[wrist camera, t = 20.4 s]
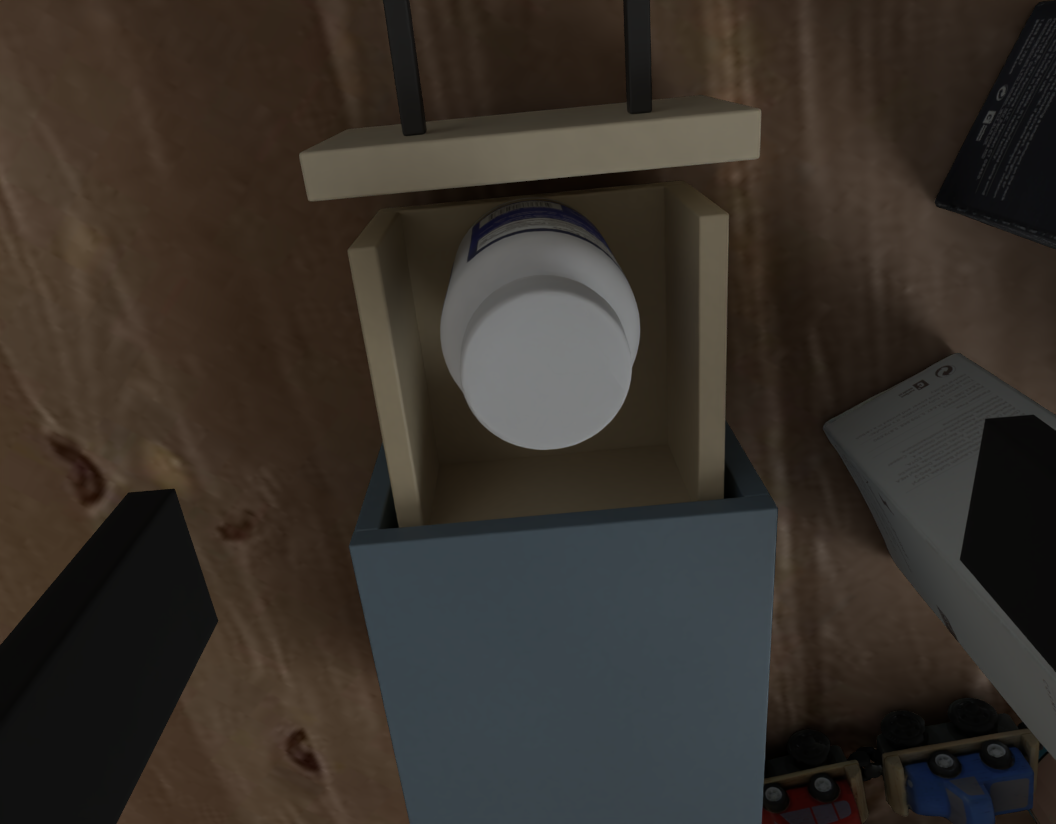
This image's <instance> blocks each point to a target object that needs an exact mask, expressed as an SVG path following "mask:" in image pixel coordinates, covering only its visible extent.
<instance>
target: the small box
mask: <svg viewBox="0 0 1056 824" xmlns="http://www.w3.org/2000/svg"><path fill="white" fill-rule="evenodd" d="M935 204H936V206H937V207H939V208H943V209H946V210H949V211H952V212H956V213H959V214H961V215H964V216H967V217H969V218H972V219H975V220H977V221H980V222H983V223H985V224H988V225H990V226H993V227H996V228H999V229H1002V230H1004V231H1007V232H1010V233H1012V234H1015V235H1018V236H1020V237H1023V238H1026V239H1029V240H1032V241H1034V242H1037V243H1040V244H1042V245H1045V246H1048V247H1051V248H1053V249H1056V0H1054V1H1043V2H1039V3H1038V4H1037V5H1036V6H1035V8H1034V10H1033V12H1032V14H1031V15H1030V17H1029V19H1028V20H1027V22H1026V24H1025V27H1024V28H1023V30H1022V32H1021V33H1020V36H1019V38H1018V40H1017V42H1016V43H1015V45H1014V47H1013V49H1012V51H1011V53H1010V55H1009V57H1008V58H1007V60H1006V63H1005V65H1004V66H1003V68H1002V70H1001V72H1000V74H999V76H998V78H997V80H996V82H995V84H994V86H993V88H992V89H991V91H990V93H989V95H988V97H987V99H986V101H985V103H984V105H983V107H982V109H981V111H980V112H979V114H978V116H977V118H976V120H975V122H974V124H973V126H972V128H971V130H970V132H969V134H968V136H967V138H966V140H965V142H964V144H963V146H962V147H961V149H960V151H959V153H958V155H957V157H956V159H955V161H954V163H953V165H952V167H951V169H950V171H949V173H948V175H947V177H946V179H945V181H944V183H943V185H942V187H941V189H940V191H939V193H938V195H937V197H936V199H935Z"/></svg>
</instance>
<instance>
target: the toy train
mask: <svg viewBox="0 0 1056 824" xmlns="http://www.w3.org/2000/svg"><path fill="white" fill-rule="evenodd" d="M947 714H948V718H949V719H950V721H951V722H947V723H942V724H936V725H930V726H925V721H924V720H923V718H922V717H920V716H919V715H917V714H915V713H913V712H911V711H894V712H891V713H889V714H887V715H886V716H885V717H884V718H883V720H882V722H881V731H882V734H880V735H878V736H877V749H874V748H873V747H860V748H858V749H857V750H856V752H853V753H852V754H850V756H849V757H848V759H846V757H845V755H844V753H843V751H842V749H841V748H840V746H838V745H832V746H830V741H829V739H828V738H827V736H825V735H824V734H823V733H821V732H819V731H816V730H810V729H809V730H801V731H798V732H796V733H795V734H793V735H792V736H791V737H790V739H789V741H788V744H787V749H788V753H789V754H790V755H788V756H784V757H779V758H774V759H771V760H766V758H765V760H766V761H765V767H764V787H763V806H762V824H862V823H863V822H864V821H865V820H866V819H867V817H868V814H869V813H868V809H867V804H866V798H865V792H864V786H863V781H867V780H870V779H871V778H877V777H879V776H881V775H882V776H883V780H884V786H885V796H886V801H887V802H888V804H889V805H890V806H891V808H892V809H893V811H894V812H896V813H898V814H900V815H902V816H905V817H906V816H908V809H911V810H912V811H913V812H915V813H916V814H920V815H925V816H940V817H944V818H947V819H948V820H949V821H951V822H952V823H953V824H995V815H1001V814H1007V813H1012V812H1018V811H1023V810H1029V809H1032V808H1033V795H1034V793H1035V791H1036V788H1037V776H1038V758H1039V751H1040V750H1042V749H1043V745H1042V744H1041V743H1040V742H1039V741H1038V739H1037V738H1036V737H1035V736H1034V735H1033V733H1032V732H1031V731H1030V730H1029V729H1028V727H1027V726H1026V725H1025V724H1024V722H1021V723H1020V724H1019V725H1018V726H1016V725H1015V723H1014V722H1013V720H1012V719H1011V717H1010V716H1009V715H1008V714H1005V713H1003V714H997V712H996V710H995V709H994V708H993V707H992V706H991V705H990V704H988V703H986V702H985V701H983V700H980V699H976V698H962V699H959V700H955V701H954V702H952V703H951V704H950V706H949V708H948V712H947ZM870 760H872V761H873V762H875V763H871V762H870ZM863 767H865V769H864V768H863Z"/></svg>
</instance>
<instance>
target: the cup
mask: <svg viewBox="0 0 1056 824" xmlns="http://www.w3.org/2000/svg"><path fill="white" fill-rule="evenodd" d="M1028 811H1029V813H1030V814H1031V816H1032V817H1033V819H1034V820H1035V821H1036V823H1037V824H1056V760H1055V759H1054V758H1053V756H1052V755H1051V754H1050V753H1049V752H1048V751H1047V750H1046V749H1045V747H1044V746H1043V749H1042V750H1040V751H1039V758H1038V776H1037V788H1036V791H1035V793H1034V795H1033V808H1032V809H1029V810H1028Z"/></svg>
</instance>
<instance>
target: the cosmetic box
mask: <svg viewBox="0 0 1056 824" xmlns="http://www.w3.org/2000/svg"><path fill="white" fill-rule="evenodd" d="M1022 415H1035V416H1036V417H1038V418H1039V419H1041V420H1042V421H1043V422H1045V423H1046V424H1047V425H1049V426H1050V427H1052V428H1053V429H1054V430H1056V415H1055V414H1053V413H1052V412H1050V411H1049V410H1047V409H1045V408H1044V407H1042V406H1041V405H1039V404H1038V403H1036V402H1035V401H1033V400H1032V399H1030V398H1028V397H1027V396H1025V395H1024V394H1022V393H1021V392H1019V391H1018V390H1016V389H1015V388H1013V387H1011V386H1010V385H1008V384H1007V383H1005V382H1004V381H1002V380H1001V379H999V378H998V377H996V376H994V375H993V374H991V373H990V372H988V371H987V370H985V369H984V368H982V367H980V366H979V365H977V364H976V363H974V362H973V361H971V360H969V359H968V358H966V357H965V356H963V355H962V354H961V353H955V354H952V355H950V356H948V357H946V358H944V359H942V360H940V361H939V362H937V363H935V364H933V365H931V366H929V367H928V368H926V369H925V370H923V371H922V372H920V373H918V374H916V375H914V376H912V377H910V378H909V379H907V380H905V381H903V382H901V383H899V384H897V385H895V386H893V387H891V388H890V389H888V390H886V391H884V392H881V393H879V394H877V395H875V396H873V397H871V398H869V399H868V400H866V401H864V402H862V403H860V404H859V405H857V406H855V407H853V408H851V409H849V410H847V411H845V412H844V413H842V414H840V415H838V416H836V417H834V418H832V419H830V420H829V421H827V422H826V423H825V424H824V427H823V430H824V432H825V434H826V436H827V438H828V439H829V441H830V443H831V444H832V445H833V446H834V448H835V449H836V450H837V452H838V453H839V455H840V457H841V459H842V460H843V462H844V464H845V465H846V467H847V469H848V471H849V472H850V474H851V476H852V477H853V479H854V481H855V483H856V484H857V486H858V488H859V490H860V492H861V494H862V496H863V498H864V500H865V501H866V503H867V505H868V507H869V509H870V511H871V513H872V515H873V517H874V520H875V522H876V524H877V526H878V528H879V530H880V532H881V534H882V536H883V538H884V541H885V543H886V546H887V549H888V551H889V553H890V555H891V557H892V559H893V561H894V562H895V564H896V566H897V567H898V568H899V569H900V571H901V572H902V573H903V574H904V576H905V577H906V578H907V579H908V581H909V582H910V583H911V584H912V586H913V587H914V588H915V589H916V591H917V592H918V593H919V594H920V596H921V597H922V598H923V599H924V601H925V602H926V603H927V604H928V605H929V607H930V608H931V609H932V610H933V611H934V613H935V614H936V615H937V616H938V618H939V619H940V620H941V621H942V622H943V624H944V625H945V626H946V627H947V629H948V630H949V631H950V633H951V634H952V635H953V636H954V637H955V639H956V640H957V641H958V642H959V643H960V645H961V646H962V647H963V648H964V650H965V651H966V652H967V653H968V655H969V656H970V657H971V658H972V660H973V661H974V662H975V663H976V665H977V666H978V667H979V668H980V670H981V671H982V672H983V673H984V674H985V676H986V677H987V678H988V679H989V681H990V682H991V683H992V684H993V685H994V687H995V688H996V689H997V690H998V692H999V693H1000V694H1001V695H1002V697H1003V698H1004V699H1005V700H1006V702H1007V703H1008V704H1009V705H1010V706H1011V708H1012V709H1013V710H1014V711H1015V712H1016V714H1017V715H1018V716H1019V717H1020V719H1021V720H1022V721H1023V722H1024V724H1025V725H1026V726H1027V727H1028V729H1029V730H1030V731H1031V732H1032V733H1033V735H1034V736H1035V737H1036V738H1037V739H1038V741H1039V742H1040V743H1041V744H1042V745H1043V746H1044V747H1045V749H1046V750H1047V751H1048V752H1049V753H1050V754H1051V755H1052V756H1053V758H1054V759H1055V760H1056V672H1055V671H1054V670H1053V668H1052V667H1051V666H1050V665H1049V664H1048V663H1047V661H1046V660H1045V659H1044V658H1043V657H1042V656H1041V654H1040V653H1039V652H1038V651H1037V650H1036V649H1035V647H1034V646H1033V645H1032V644H1031V643H1030V642H1029V640H1028V639H1027V638H1026V637H1025V636H1024V635H1023V633H1022V632H1021V631H1020V630H1019V629H1018V627H1017V626H1016V625H1015V624H1014V623H1013V622H1012V620H1011V619H1010V618H1009V617H1008V616H1007V615H1006V613H1005V612H1004V611H1003V610H1002V609H1001V608H1000V606H999V605H998V604H997V603H996V602H995V601H994V599H993V598H992V597H991V596H990V595H989V594H988V592H987V591H986V590H985V589H984V588H983V586H982V585H981V584H980V583H979V582H978V581H977V579H976V578H975V577H974V576H973V575H972V574H971V572H970V571H969V570H968V569H967V568H966V567H965V565H964V564H963V563H962V562H961V561H960V555H961V550H962V544H963V539H964V533H965V528H966V522H967V517H968V511H969V506H970V500H971V495H972V489H973V484H974V478H975V473H976V467H977V462H978V456H979V451H980V445H981V440H982V434H983V429H984V423H985V419H988V418H999V417H1011V416H1022Z"/></svg>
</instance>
